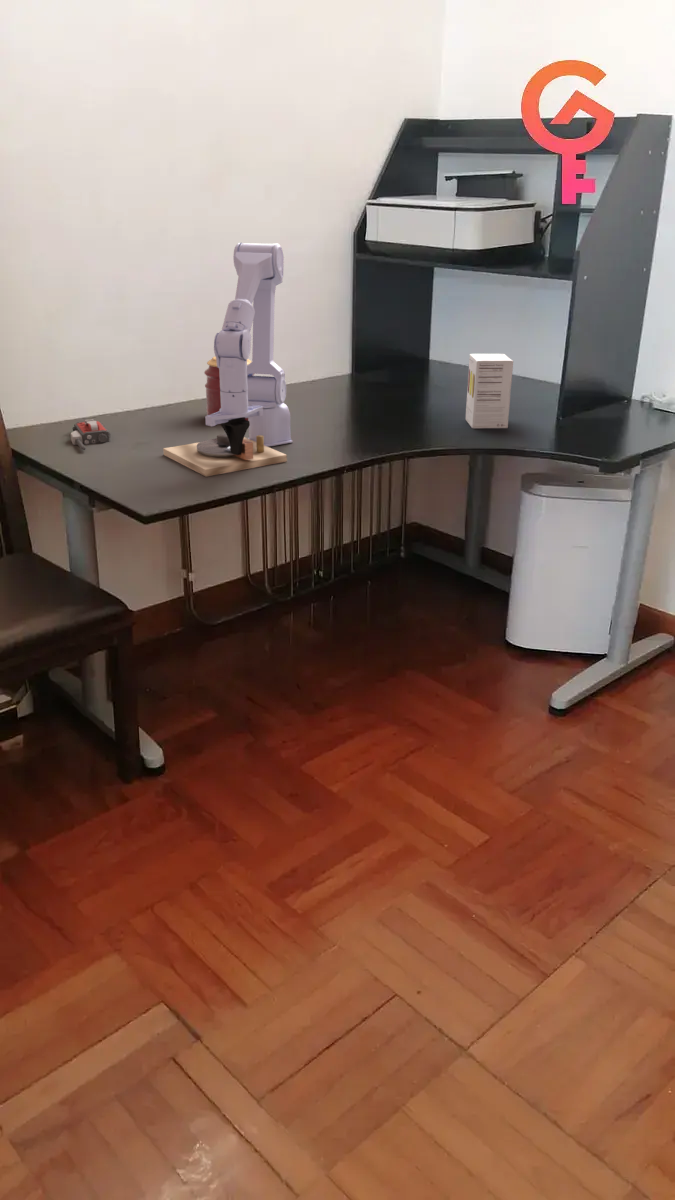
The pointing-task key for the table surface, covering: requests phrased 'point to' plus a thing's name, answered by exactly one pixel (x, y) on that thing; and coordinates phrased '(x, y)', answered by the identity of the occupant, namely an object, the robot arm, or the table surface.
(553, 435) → the table surface
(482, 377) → the supplement box
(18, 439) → the table surface
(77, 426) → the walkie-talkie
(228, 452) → the flange
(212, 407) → the canister
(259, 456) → the base plate
